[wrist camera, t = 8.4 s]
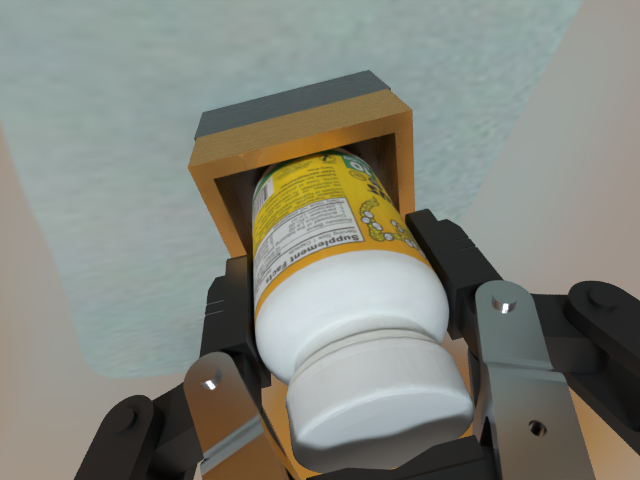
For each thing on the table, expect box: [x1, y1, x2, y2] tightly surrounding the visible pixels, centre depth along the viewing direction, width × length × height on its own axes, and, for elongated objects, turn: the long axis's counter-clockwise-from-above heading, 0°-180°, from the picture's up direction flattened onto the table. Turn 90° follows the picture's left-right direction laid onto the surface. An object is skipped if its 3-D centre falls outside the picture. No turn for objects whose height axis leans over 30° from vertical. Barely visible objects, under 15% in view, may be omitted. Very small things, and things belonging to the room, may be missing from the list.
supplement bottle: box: [252, 147, 475, 474], centre depth 11 cm, size 5×5×10 cm
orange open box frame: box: [188, 70, 415, 260], centre depth 16 cm, size 10×8×6 cm
